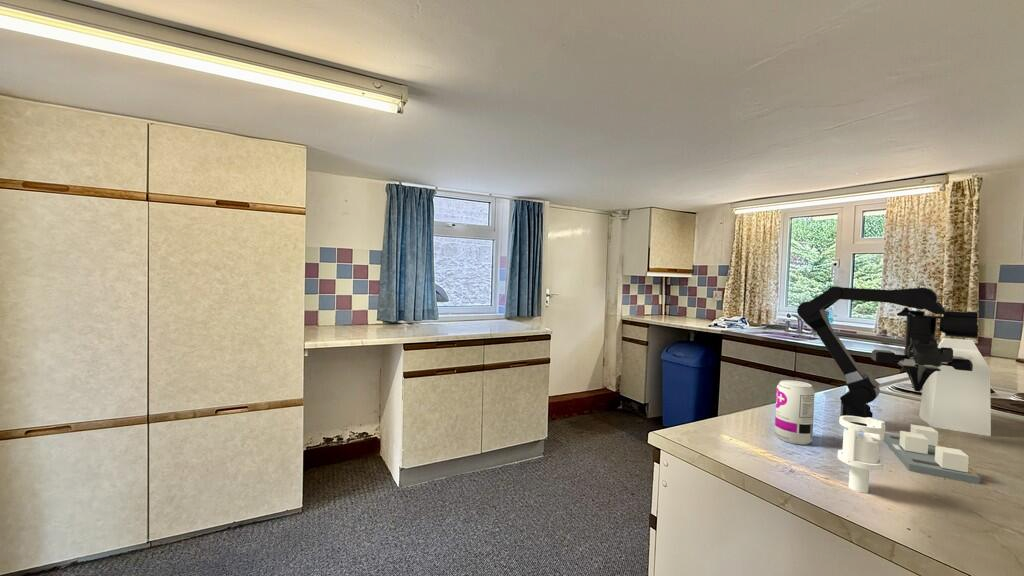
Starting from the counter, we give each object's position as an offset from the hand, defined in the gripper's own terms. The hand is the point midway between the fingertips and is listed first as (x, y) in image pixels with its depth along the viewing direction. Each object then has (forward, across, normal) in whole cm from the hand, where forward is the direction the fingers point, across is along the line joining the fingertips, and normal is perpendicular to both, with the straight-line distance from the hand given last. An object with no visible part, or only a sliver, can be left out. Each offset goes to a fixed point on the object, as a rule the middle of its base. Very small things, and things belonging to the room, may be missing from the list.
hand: (917, 391), depth 110 cm
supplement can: (+13, -29, -20) cm, 38 cm away
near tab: (+11, 0, -24) cm, 26 cm away
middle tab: (+11, -4, -16) cm, 20 cm away
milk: (+13, +14, +21) cm, 29 cm away
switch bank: (+13, -2, -16) cm, 21 cm away
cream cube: (+11, 0, -8) cm, 14 cm away
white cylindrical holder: (+13, -20, -44) cm, 50 cm away
